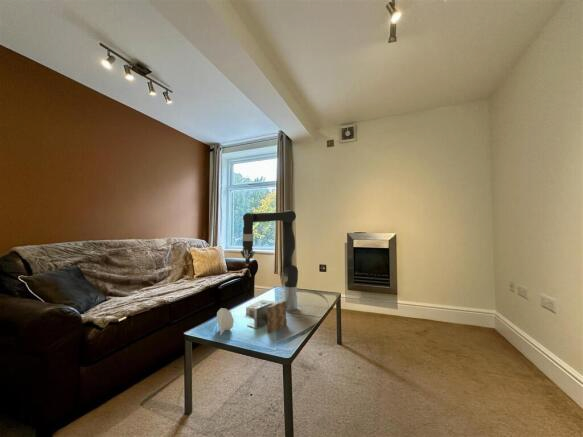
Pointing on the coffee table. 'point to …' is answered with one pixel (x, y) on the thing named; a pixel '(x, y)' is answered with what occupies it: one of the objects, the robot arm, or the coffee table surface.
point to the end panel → (276, 316)
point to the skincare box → (259, 305)
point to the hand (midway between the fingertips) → (247, 264)
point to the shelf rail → (253, 316)
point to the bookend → (260, 316)
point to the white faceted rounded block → (224, 320)
